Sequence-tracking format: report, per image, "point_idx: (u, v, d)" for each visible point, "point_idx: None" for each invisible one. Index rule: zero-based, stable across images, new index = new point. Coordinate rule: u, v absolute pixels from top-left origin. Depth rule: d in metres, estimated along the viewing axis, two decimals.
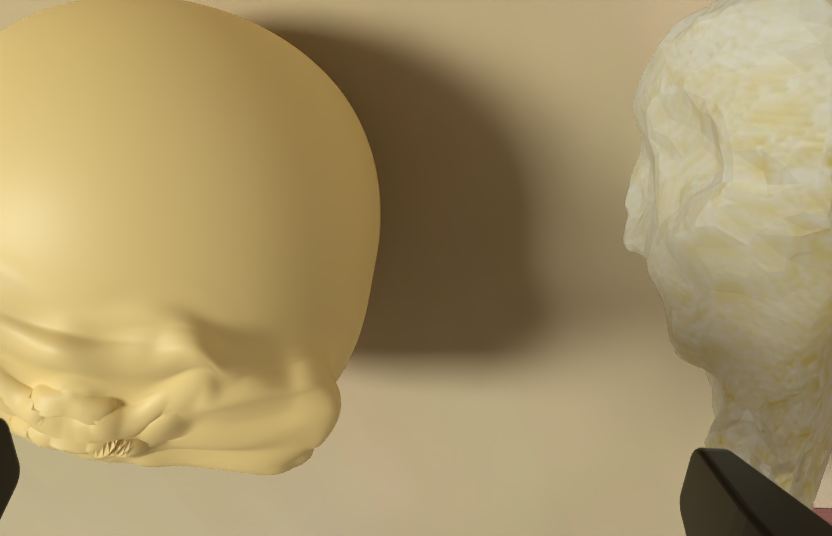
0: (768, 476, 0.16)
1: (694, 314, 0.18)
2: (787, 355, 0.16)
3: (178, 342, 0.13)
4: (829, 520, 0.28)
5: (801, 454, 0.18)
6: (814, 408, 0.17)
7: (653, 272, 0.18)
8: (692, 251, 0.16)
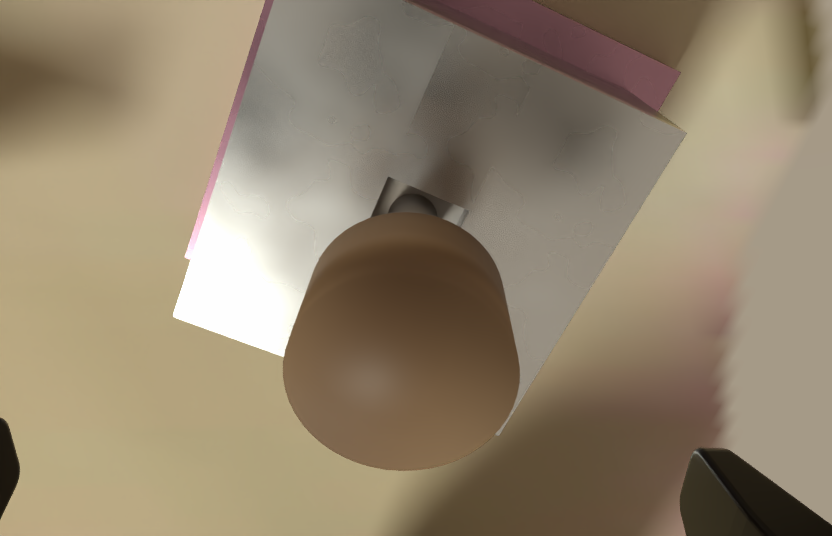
0: None
1: None
2: None
3: None
4: (212, 176, 0.20)
5: None
6: None
7: None
8: None
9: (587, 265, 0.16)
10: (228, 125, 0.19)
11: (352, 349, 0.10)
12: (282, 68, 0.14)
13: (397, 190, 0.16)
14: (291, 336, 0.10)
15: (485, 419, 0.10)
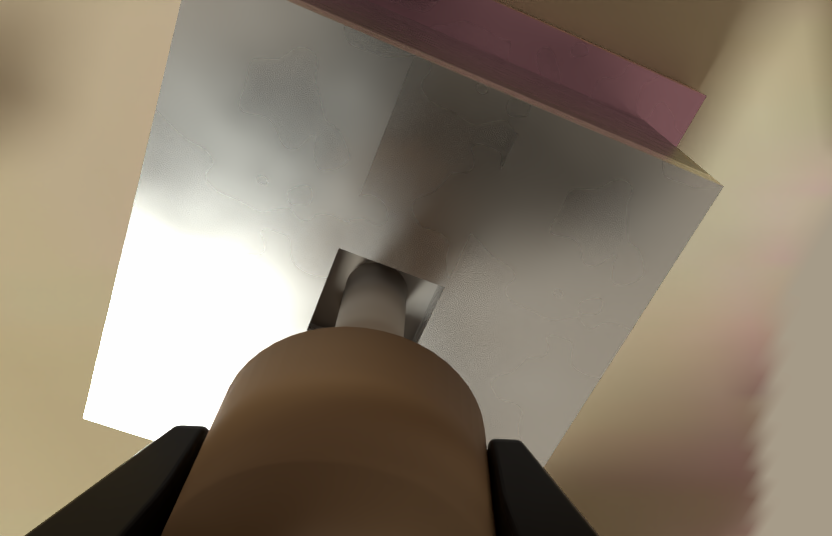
0: None
1: None
2: None
3: None
4: None
5: None
6: None
7: None
8: None
9: (597, 350, 0.12)
10: None
11: None
12: (193, 116, 0.11)
13: (355, 259, 0.13)
14: None
15: None
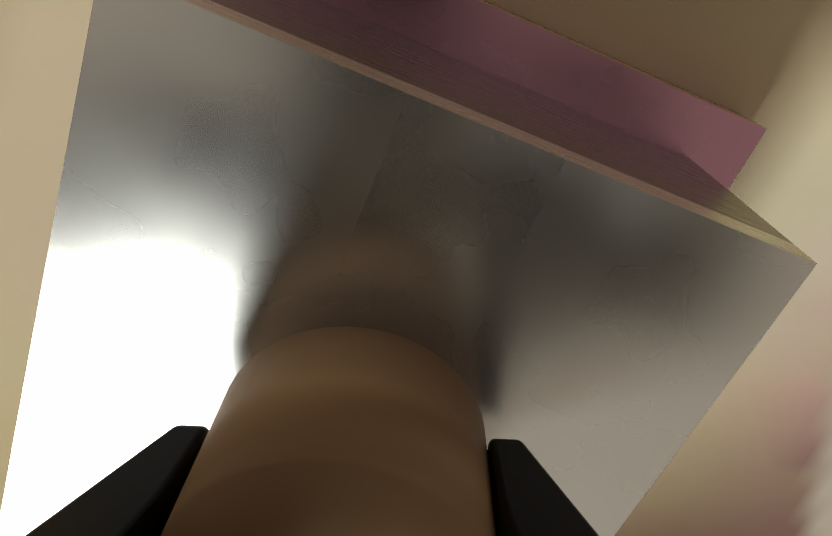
0: None
1: None
2: None
3: None
4: None
5: None
6: None
7: None
8: None
9: (642, 461, 0.10)
10: None
11: None
12: (114, 174, 0.08)
13: None
14: None
15: None
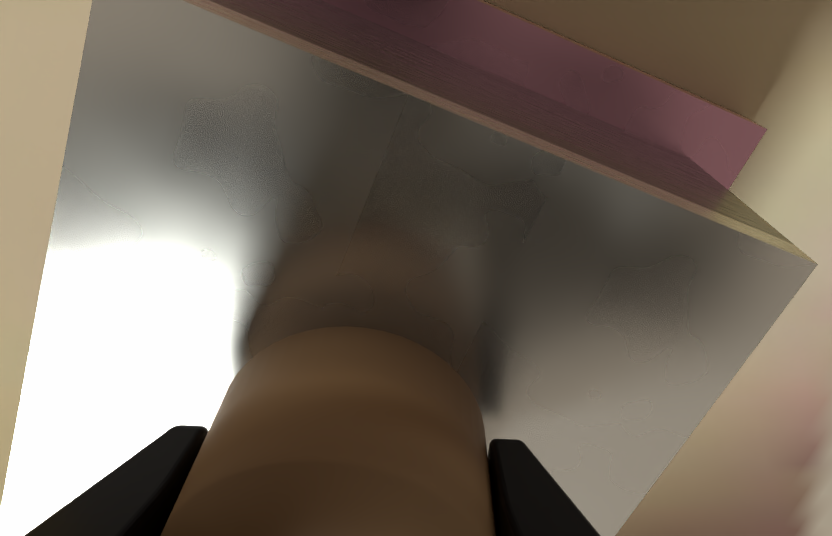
0: None
1: None
2: None
3: None
4: None
5: None
6: None
7: None
8: None
9: (642, 462, 0.10)
10: None
11: None
12: (113, 174, 0.08)
13: None
14: None
15: None
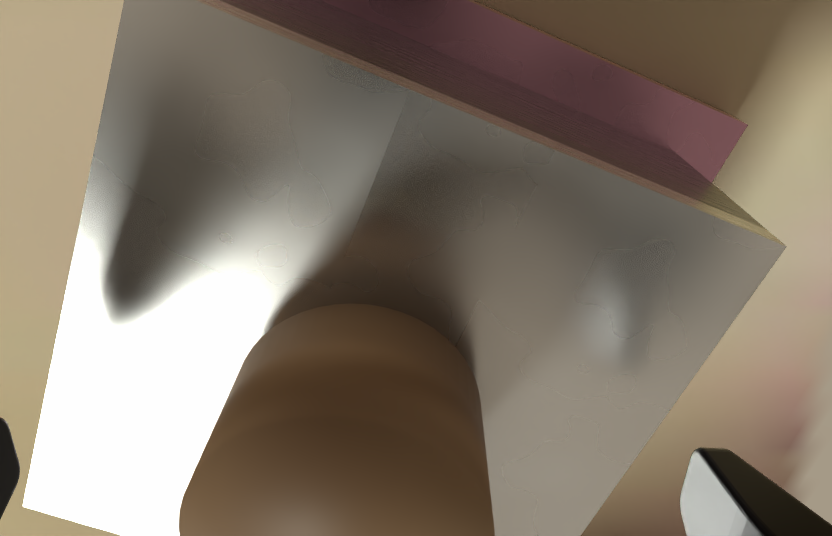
0: None
1: None
2: None
3: None
4: None
5: None
6: None
7: None
8: None
9: (628, 433, 0.10)
10: None
11: (269, 509, 0.07)
12: (139, 163, 0.09)
13: None
14: (185, 495, 0.07)
15: None
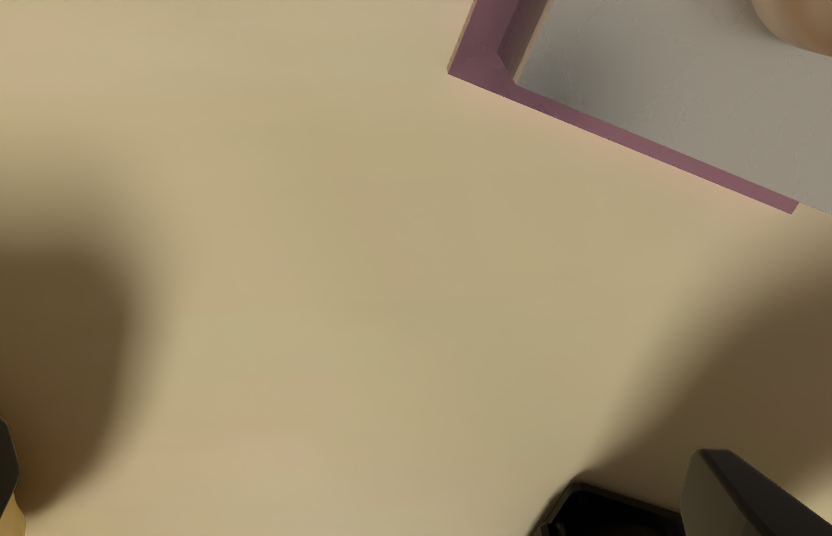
0: None
1: None
2: None
3: None
4: None
5: None
6: None
7: None
8: None
9: None
10: None
11: None
12: None
13: None
14: None
15: None
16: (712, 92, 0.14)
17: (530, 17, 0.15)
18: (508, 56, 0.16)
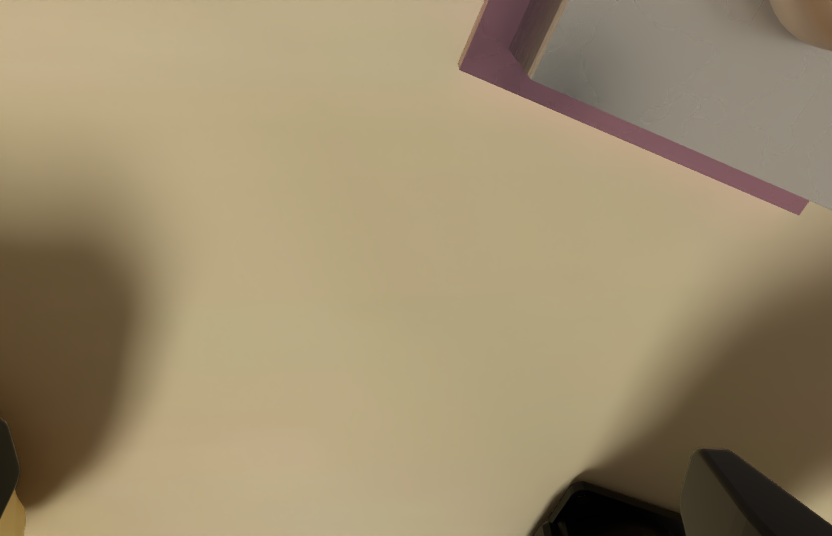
0: None
1: None
2: None
3: None
4: None
5: None
6: None
7: None
8: None
9: None
10: None
11: None
12: None
13: None
14: None
15: None
16: (726, 90, 0.14)
17: (545, 13, 0.15)
18: (521, 52, 0.16)
